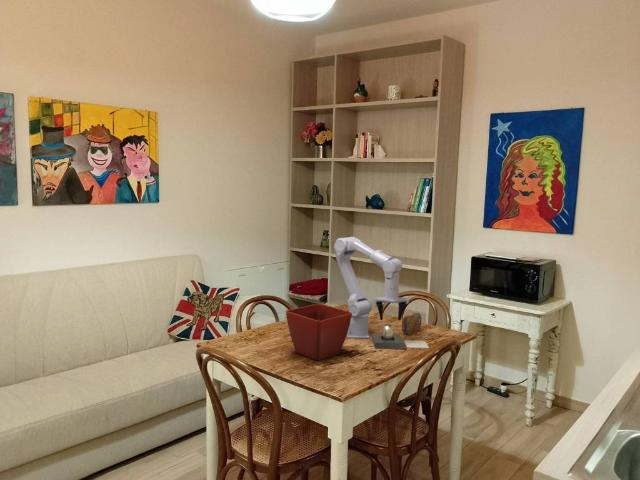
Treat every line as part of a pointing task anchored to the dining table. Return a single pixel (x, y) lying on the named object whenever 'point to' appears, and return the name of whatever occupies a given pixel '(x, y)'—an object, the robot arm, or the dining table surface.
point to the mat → (415, 344)
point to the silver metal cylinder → (387, 332)
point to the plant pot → (318, 330)
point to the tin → (411, 323)
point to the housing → (387, 342)
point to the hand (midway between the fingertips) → (390, 319)
